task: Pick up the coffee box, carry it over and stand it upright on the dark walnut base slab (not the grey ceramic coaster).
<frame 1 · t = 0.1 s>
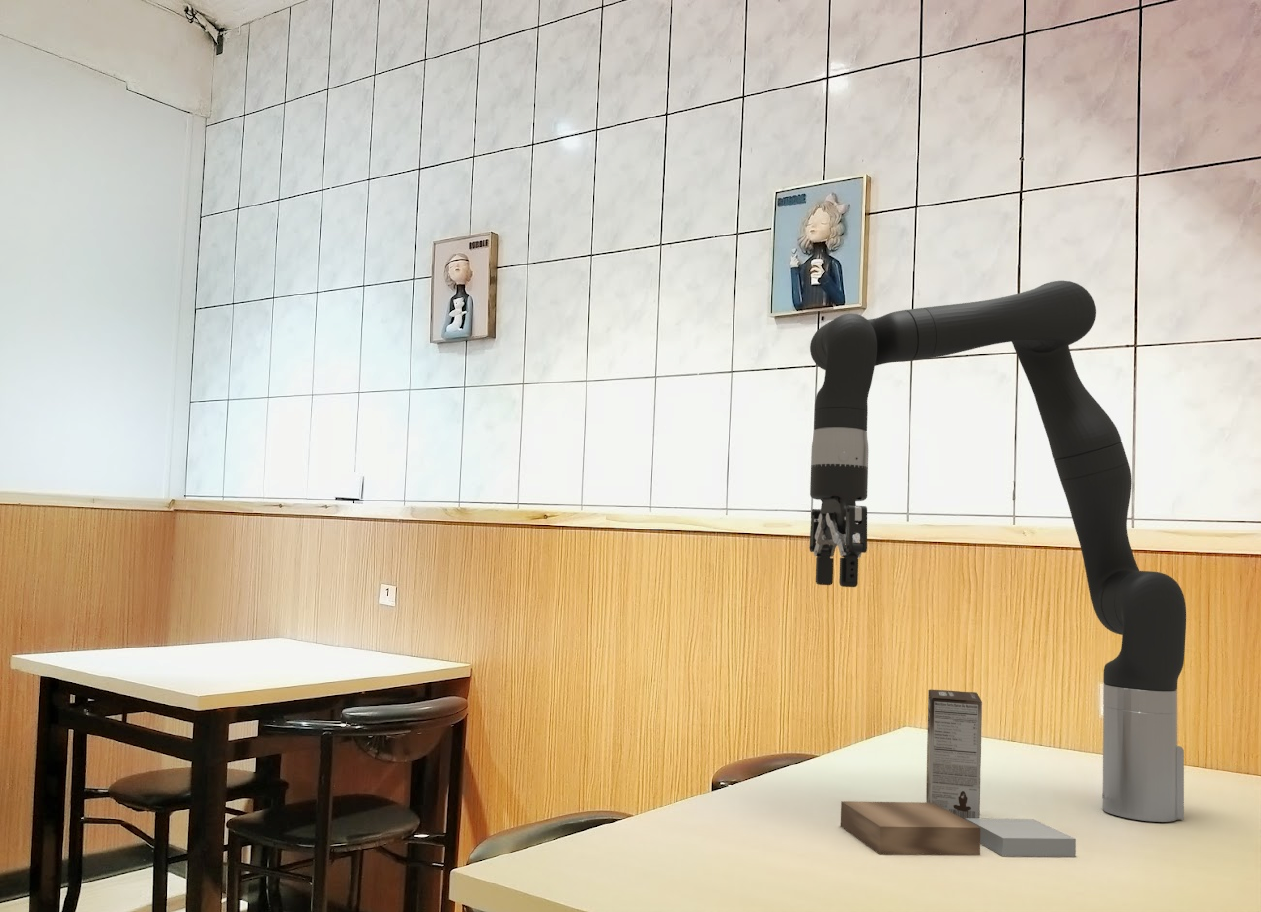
hand: (835, 585, 140), 29 cm above the table, fingers open, 8 cm apart
coffee box: (951, 822, 135), on the table
grey coaster: (1018, 845, 124), on the table
walnut base: (907, 840, 124), on the table
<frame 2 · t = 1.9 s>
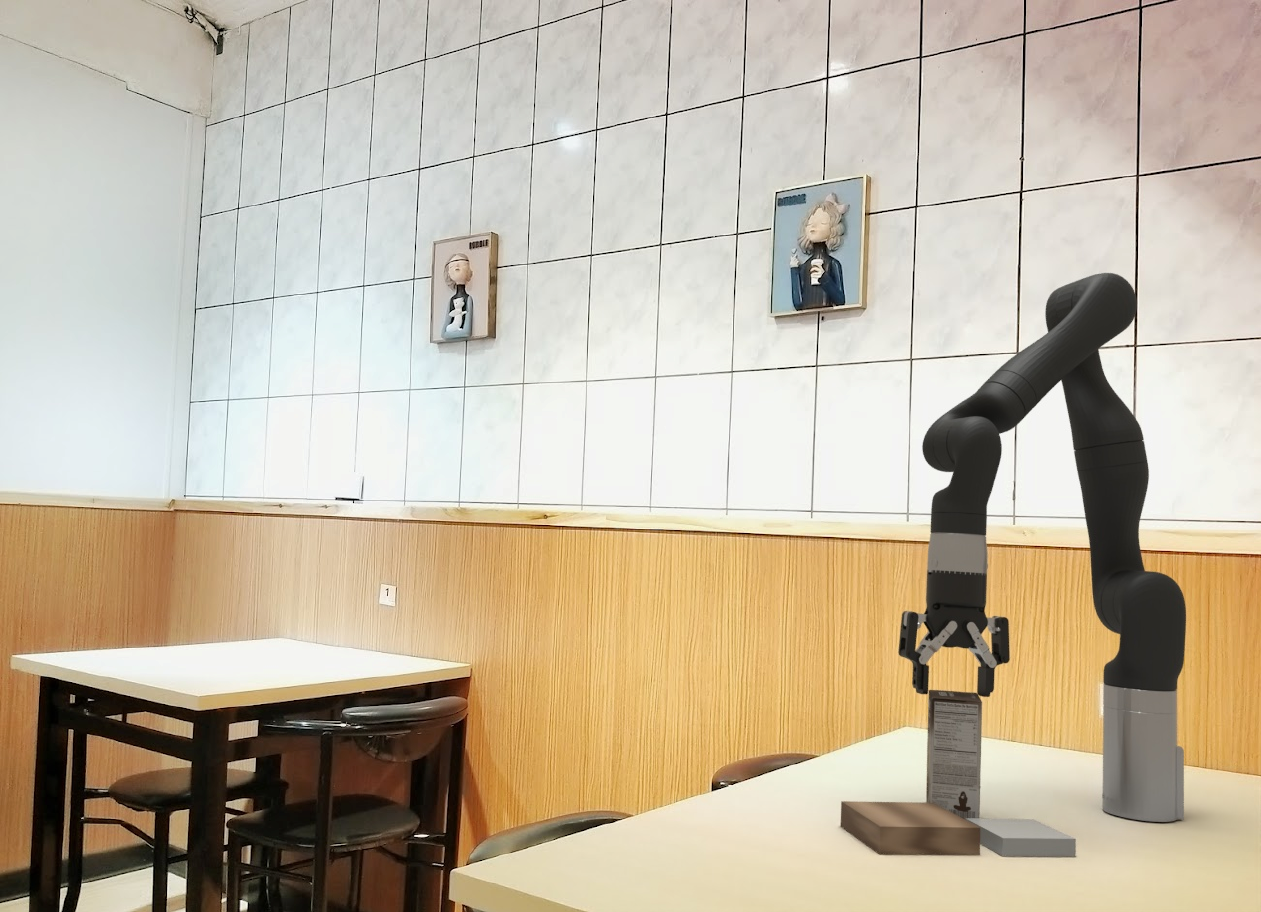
hand: (952, 695, 136), 16 cm above the table, fingers open, 8 cm apart
coffee box: (951, 822, 135), on the table, touching gripper
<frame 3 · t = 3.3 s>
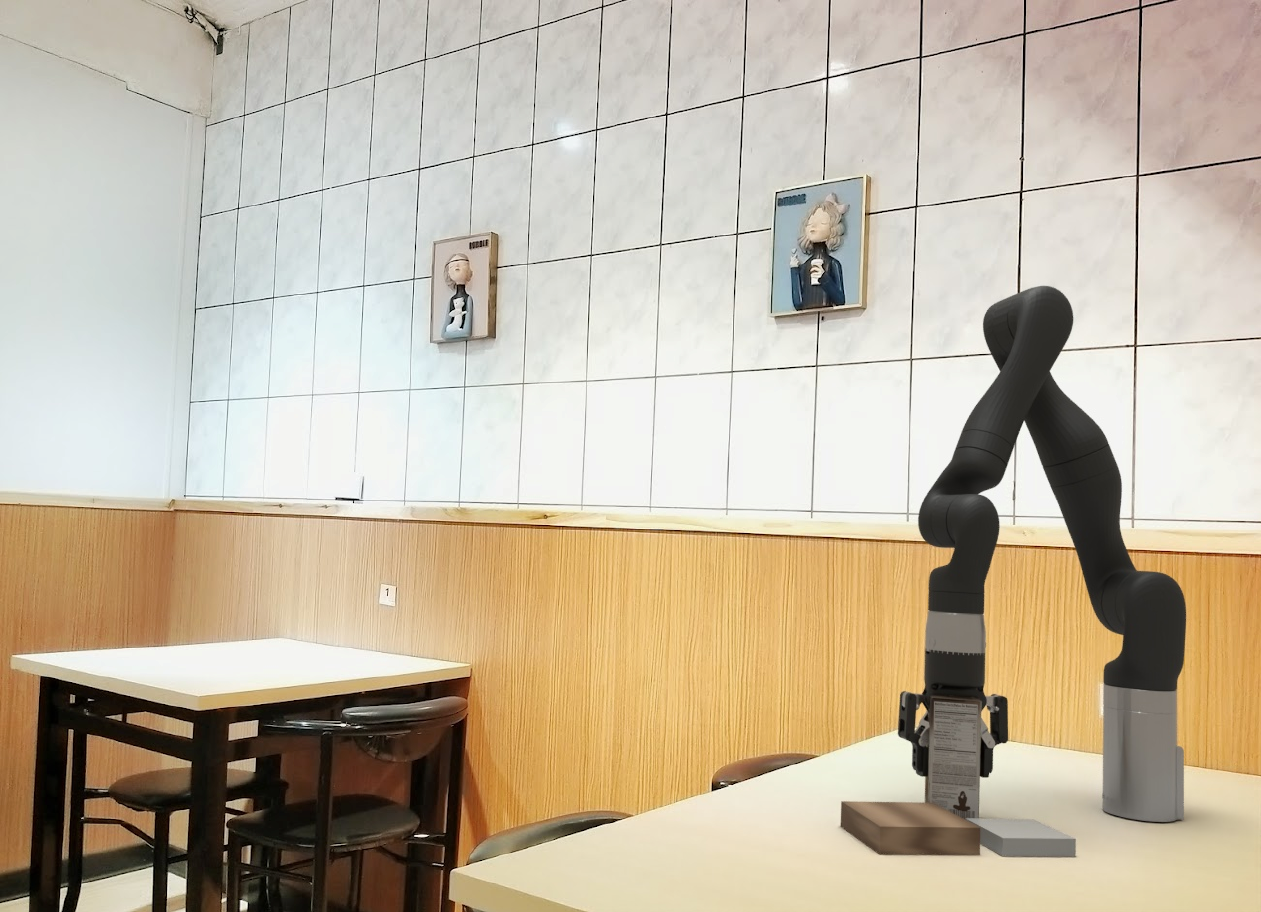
hand: (952, 775, 135), 6 cm above the table, fingers closed on coffee box, 8 cm apart
coffee box: (950, 822, 135), on the table, touching gripper
when the fingers open (10 cm above the table, at t = 10.5 s): coffee box drops 1 cm, resting on walnut base.
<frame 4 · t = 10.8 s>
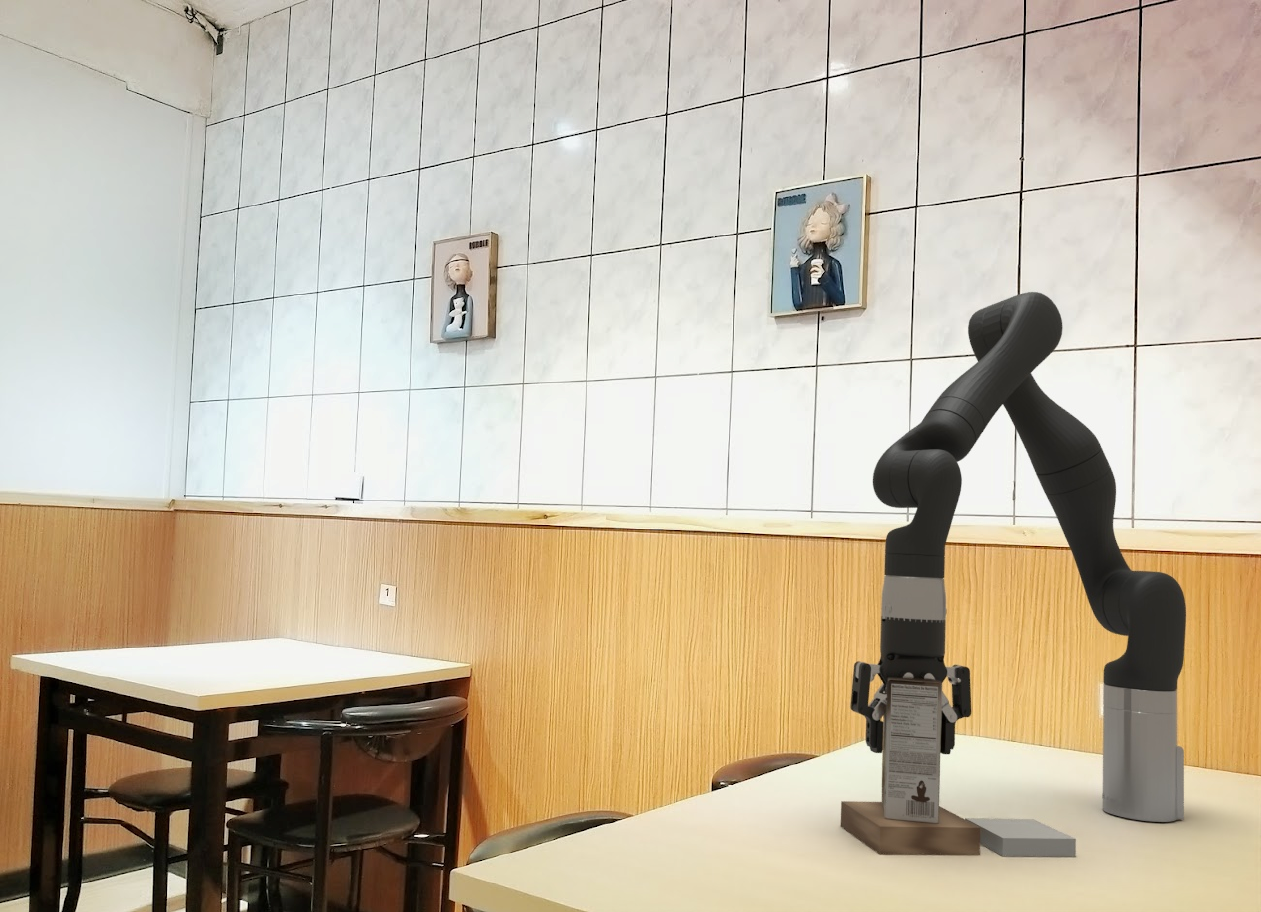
hand: (909, 752, 125), 10 cm above the table, fingers open, 8 cm apart
coffee box: (909, 814, 125), point 3 cm above the table, touching gripper, walnut base
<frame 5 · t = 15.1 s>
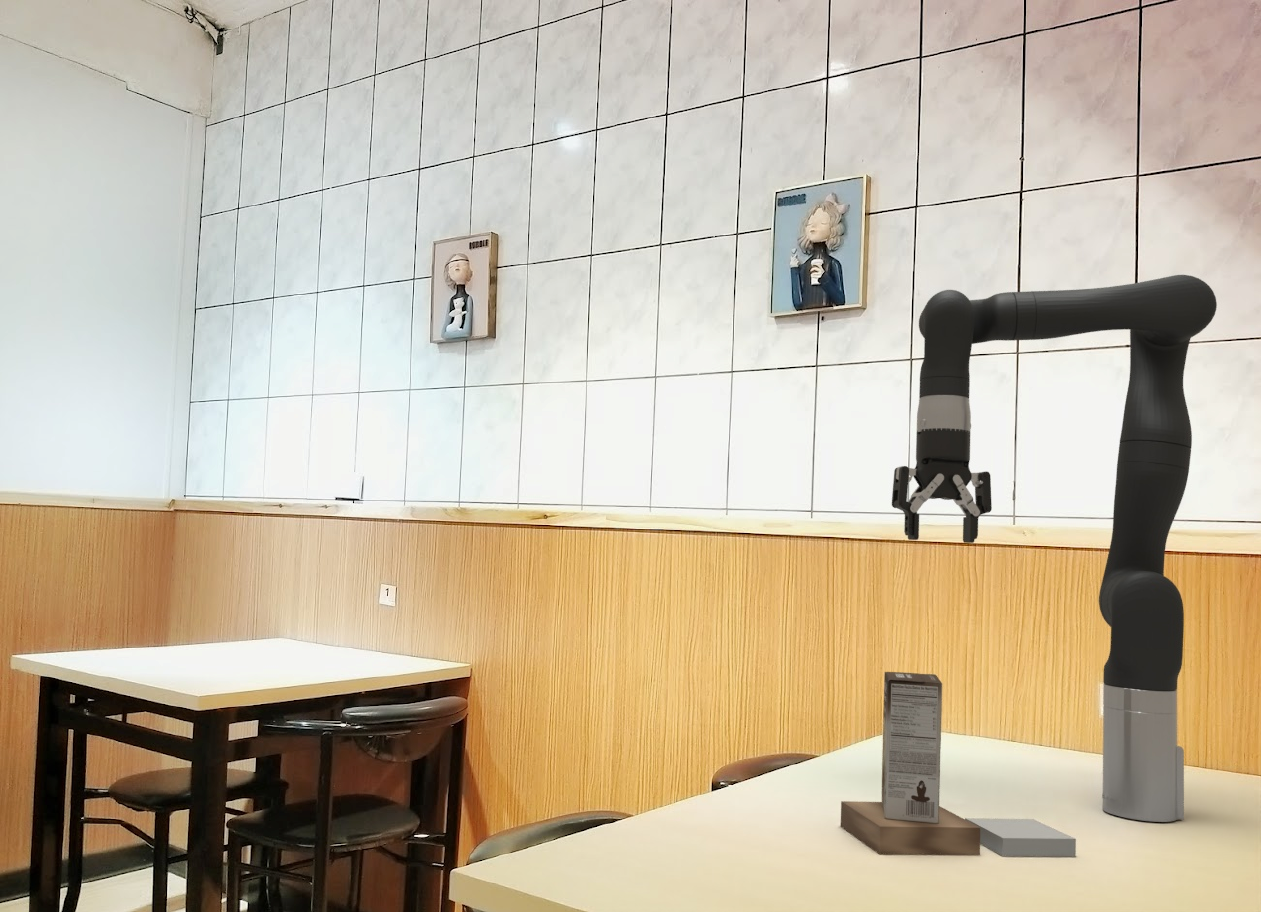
hand: (940, 541, 151), 36 cm above the table, fingers open, 8 cm apart
coffee box: (909, 814, 125), point 3 cm above the table, touching walnut base
at the end: coffee box inside the target area on the walnut base (0.5 cm from its centre), point 2.8 cm above the walnut base's base; coffee box tilted 0°; the gripper is holding nothing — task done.
